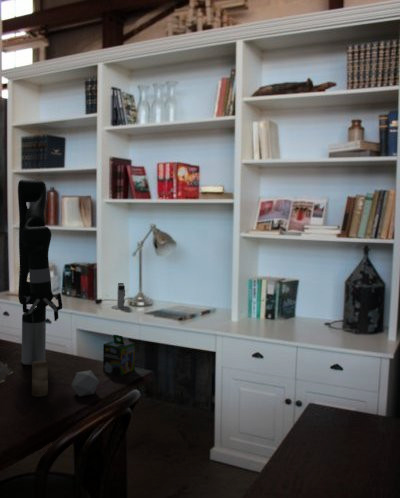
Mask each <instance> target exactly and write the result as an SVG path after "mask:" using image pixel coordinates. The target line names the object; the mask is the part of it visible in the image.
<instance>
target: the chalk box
mask: <svg viewBox="0 0 400 498" xmlns="http://www.w3.org/2000/svg"><path fill="white" fill-rule="evenodd" d="M112 338H113V340H111V341H108V342H106V343H104V344H103V345H102V347H103V349H102V350H103V355H102V358H103V359H102V360H103V361H102V362H103V363H102V366H103V368H102V371H103V373H107V374H111V375H113V376H118V377H122V376H124V375H126V374H129V373H131V372H133V371H135V370H136V367H135V366H136V364H135V363H136V362H135V361H136V360H135V358H136V357H135V356H136V352H135V351H136V350H135V349H136V344H135V343H136V342H133V341H129V340H124V337H123V336H122V335H118V334H113V337H112Z"/></svg>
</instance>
